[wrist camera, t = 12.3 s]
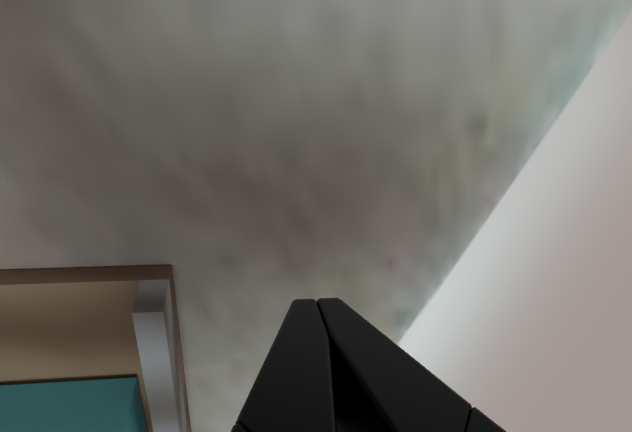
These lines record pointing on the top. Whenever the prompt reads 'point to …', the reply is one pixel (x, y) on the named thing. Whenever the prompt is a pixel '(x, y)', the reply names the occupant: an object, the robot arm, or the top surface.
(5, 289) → the mount
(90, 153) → the top surface
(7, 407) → the teal tall block
